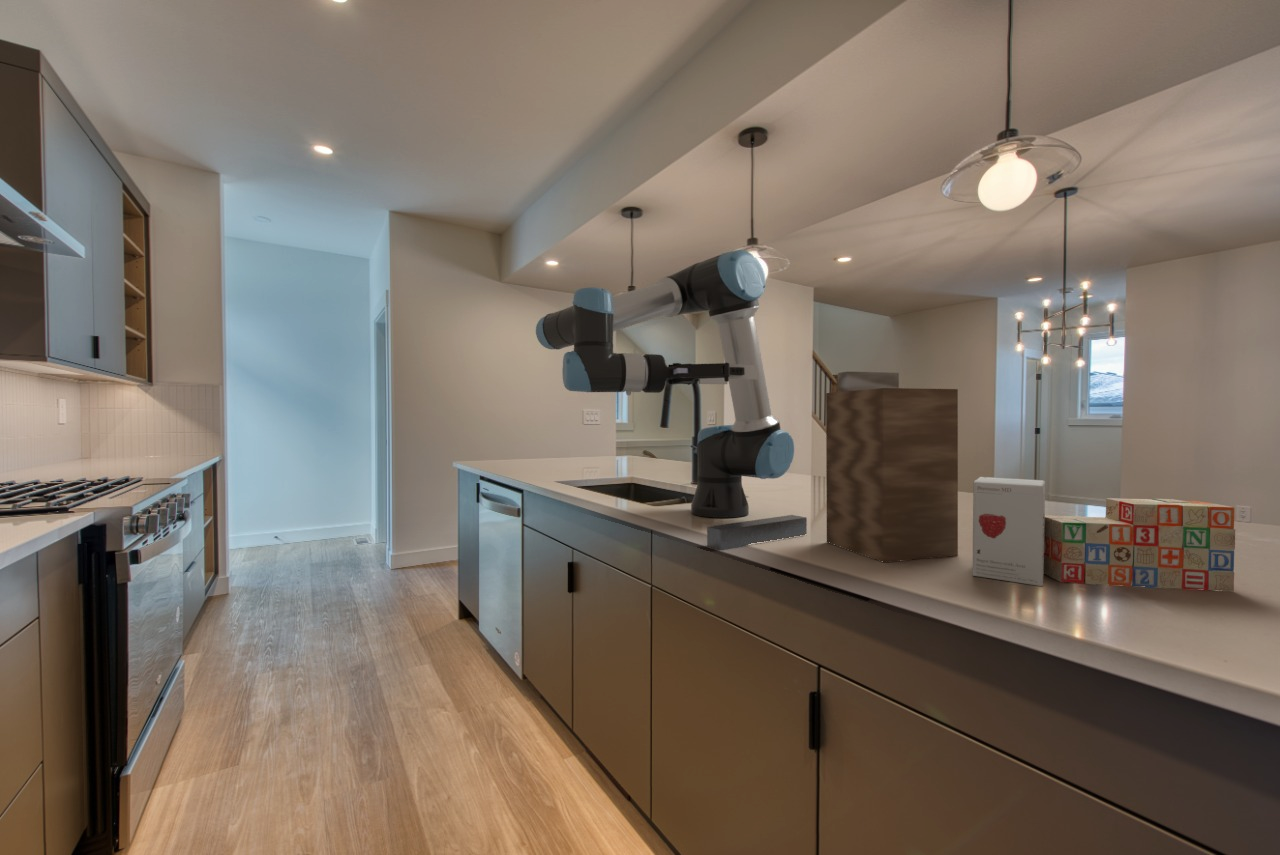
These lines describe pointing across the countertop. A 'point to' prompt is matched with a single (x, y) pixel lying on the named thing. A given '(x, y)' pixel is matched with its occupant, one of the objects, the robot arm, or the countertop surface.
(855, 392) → the brown wooden tall block
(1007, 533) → the supplement box
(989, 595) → the countertop surface
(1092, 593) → the countertop surface
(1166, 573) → the stack of blocks
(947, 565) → the countertop surface
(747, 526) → the gray block
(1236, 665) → the countertop surface
